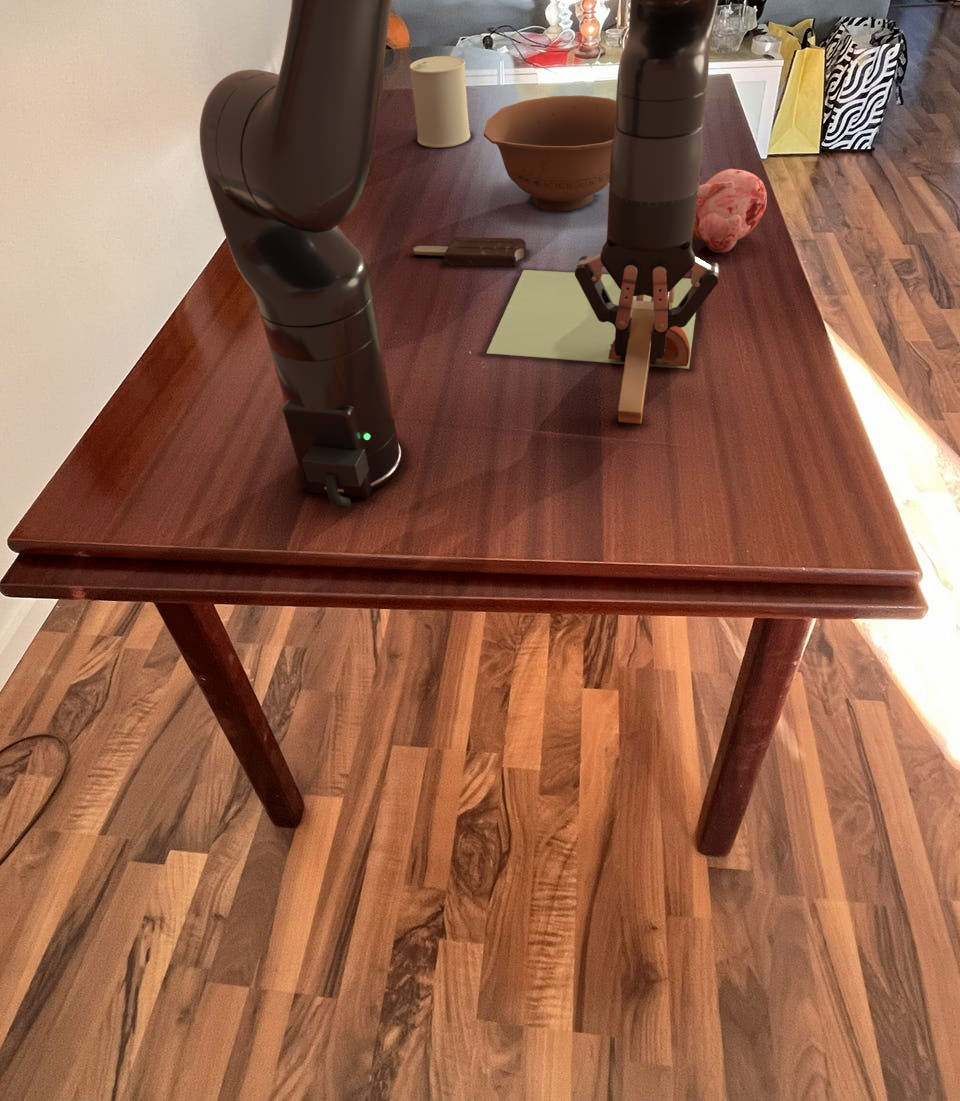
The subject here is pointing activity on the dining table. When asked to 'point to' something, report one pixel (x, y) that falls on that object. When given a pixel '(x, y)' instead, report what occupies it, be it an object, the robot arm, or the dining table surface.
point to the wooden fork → (637, 360)
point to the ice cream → (728, 208)
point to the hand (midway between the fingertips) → (639, 358)
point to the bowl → (556, 147)
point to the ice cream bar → (478, 251)
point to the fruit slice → (669, 348)
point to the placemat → (564, 319)
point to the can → (440, 101)
